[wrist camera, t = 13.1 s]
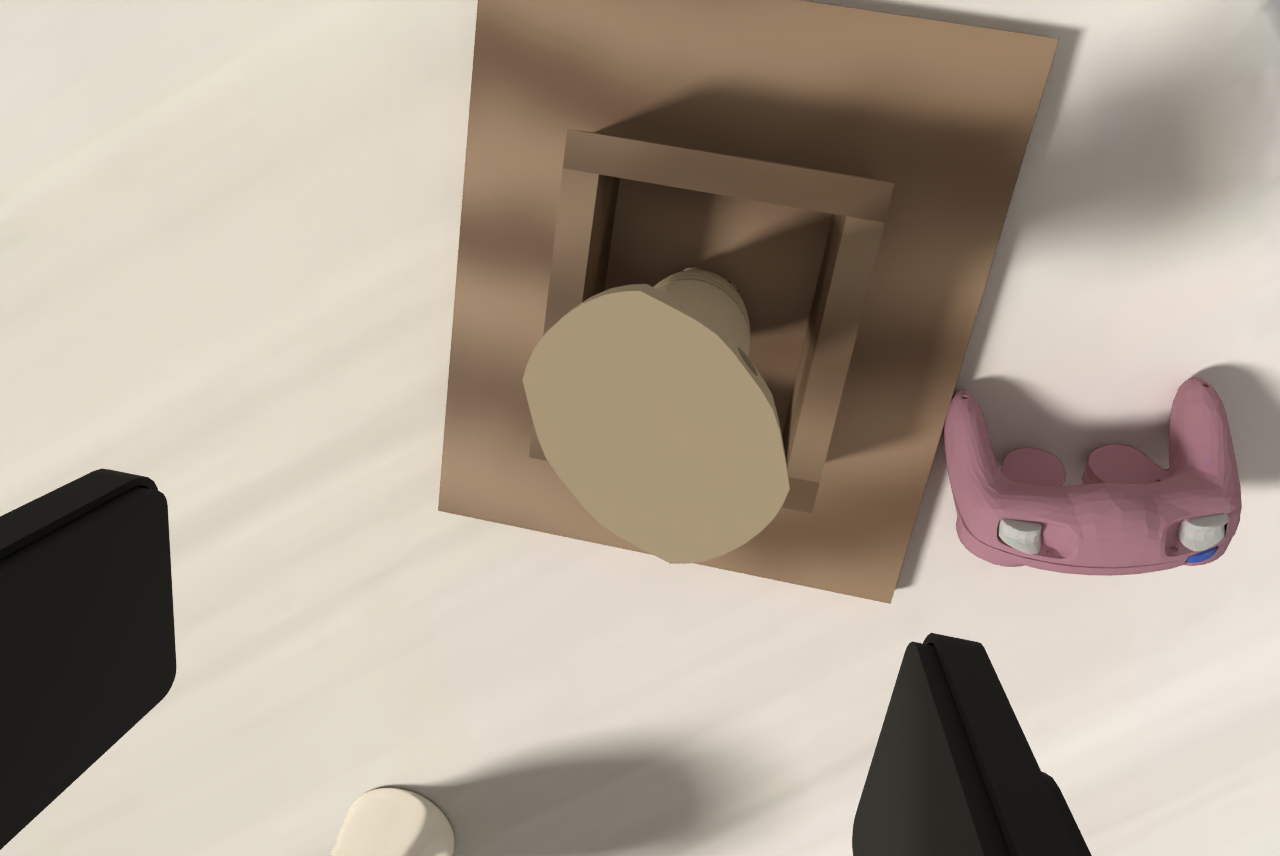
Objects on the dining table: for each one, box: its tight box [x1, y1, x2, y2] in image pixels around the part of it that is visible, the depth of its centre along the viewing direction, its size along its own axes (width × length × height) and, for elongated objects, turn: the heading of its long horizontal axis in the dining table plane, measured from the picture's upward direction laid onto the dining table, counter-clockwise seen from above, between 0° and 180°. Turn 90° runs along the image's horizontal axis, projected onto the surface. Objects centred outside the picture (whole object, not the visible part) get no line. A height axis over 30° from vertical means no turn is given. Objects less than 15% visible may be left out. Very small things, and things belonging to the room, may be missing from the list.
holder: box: [438, 0, 1059, 604], centre depth 30 cm, size 22×20×6 cm
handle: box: [522, 266, 790, 563], centre depth 25 cm, size 5×6×15 cm
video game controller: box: [944, 378, 1242, 575], centre depth 30 cm, size 10×5×7 cm, turn 95°
